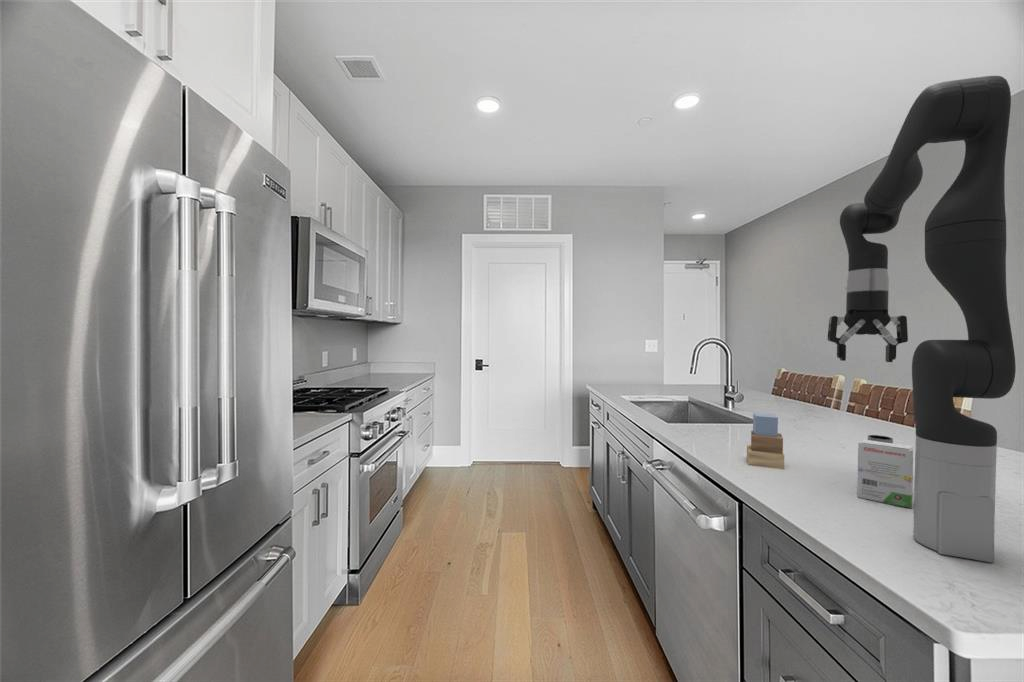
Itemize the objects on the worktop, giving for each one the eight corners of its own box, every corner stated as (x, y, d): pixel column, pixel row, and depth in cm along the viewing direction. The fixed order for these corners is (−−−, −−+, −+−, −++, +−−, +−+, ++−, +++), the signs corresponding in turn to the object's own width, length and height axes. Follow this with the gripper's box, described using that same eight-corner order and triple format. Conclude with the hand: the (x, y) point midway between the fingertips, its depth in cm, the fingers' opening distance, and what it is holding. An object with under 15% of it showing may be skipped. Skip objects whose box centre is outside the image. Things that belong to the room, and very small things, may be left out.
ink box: (913, 502, 90) (914, 445, 90) (911, 509, 87) (912, 449, 87) (860, 491, 97) (861, 437, 96) (856, 497, 93) (857, 441, 93)
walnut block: (782, 454, 113) (783, 438, 113) (751, 450, 116) (751, 435, 116) (780, 448, 119) (780, 433, 119) (751, 445, 122) (751, 430, 122)
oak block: (784, 470, 113) (784, 454, 112) (748, 466, 116) (748, 450, 116) (780, 462, 120) (780, 447, 120) (746, 458, 123) (747, 444, 123)
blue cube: (777, 437, 114) (778, 417, 114) (755, 435, 116) (756, 416, 116) (774, 433, 119) (774, 414, 119) (752, 431, 121) (753, 413, 121)
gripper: (833, 290, 101) (831, 361, 101) (913, 287, 95) (912, 363, 95) (826, 292, 108) (824, 359, 108) (900, 291, 102) (899, 361, 102)
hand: (865, 361), depth 102 cm, fingers open, 8 cm apart
